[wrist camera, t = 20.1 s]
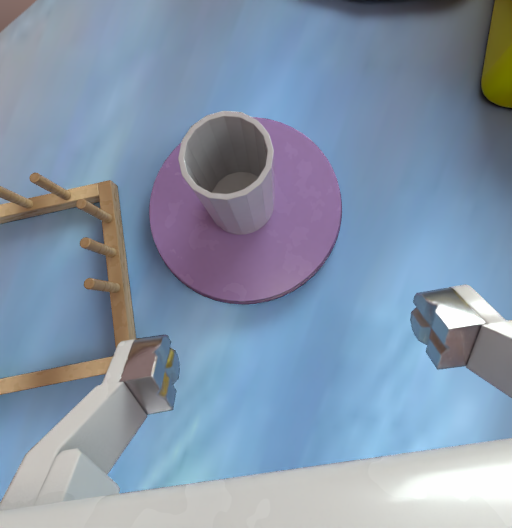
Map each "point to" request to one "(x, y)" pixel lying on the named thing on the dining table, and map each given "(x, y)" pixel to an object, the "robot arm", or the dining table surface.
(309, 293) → the dining table surface
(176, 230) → the purple disc candle holder
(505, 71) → the element tile
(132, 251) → the dining table surface
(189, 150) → the steel cup
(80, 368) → the drying rack
